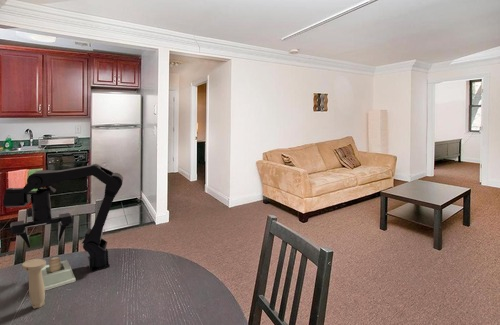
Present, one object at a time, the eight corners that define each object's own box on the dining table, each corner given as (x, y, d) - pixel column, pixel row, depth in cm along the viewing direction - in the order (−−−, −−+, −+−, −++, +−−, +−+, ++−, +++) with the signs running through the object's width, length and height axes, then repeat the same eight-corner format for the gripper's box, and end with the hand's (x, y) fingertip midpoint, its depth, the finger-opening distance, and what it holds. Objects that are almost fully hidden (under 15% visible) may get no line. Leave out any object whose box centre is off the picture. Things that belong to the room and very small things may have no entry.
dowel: (62, 279, 107) (60, 259, 106) (51, 283, 105) (49, 262, 103) (60, 275, 109) (59, 256, 108) (50, 278, 107) (48, 259, 106)
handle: (36, 299, 95) (32, 257, 93) (53, 302, 94) (49, 260, 92) (22, 309, 91) (18, 265, 88) (40, 312, 90) (36, 268, 87)
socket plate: (70, 268, 114) (69, 258, 114) (75, 281, 106) (74, 270, 106) (36, 278, 107) (35, 266, 107) (39, 292, 99) (37, 280, 98)
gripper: (67, 195, 118) (69, 231, 121) (8, 203, 106) (12, 243, 109) (71, 202, 110) (74, 240, 112) (8, 212, 98) (13, 254, 100)
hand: (44, 244), depth 109 cm, fingers open, 9 cm apart
